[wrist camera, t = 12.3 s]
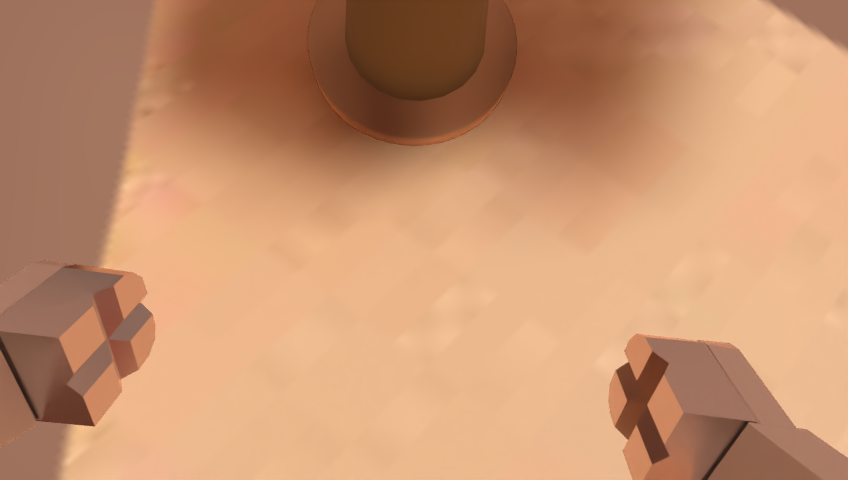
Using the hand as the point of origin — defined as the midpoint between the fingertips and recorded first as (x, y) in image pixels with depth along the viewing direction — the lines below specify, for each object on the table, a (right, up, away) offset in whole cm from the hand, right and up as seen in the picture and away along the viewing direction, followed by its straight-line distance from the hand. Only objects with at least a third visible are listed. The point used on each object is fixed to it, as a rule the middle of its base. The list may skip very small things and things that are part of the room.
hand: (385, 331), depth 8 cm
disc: (0, +10, +15) cm, 18 cm away
